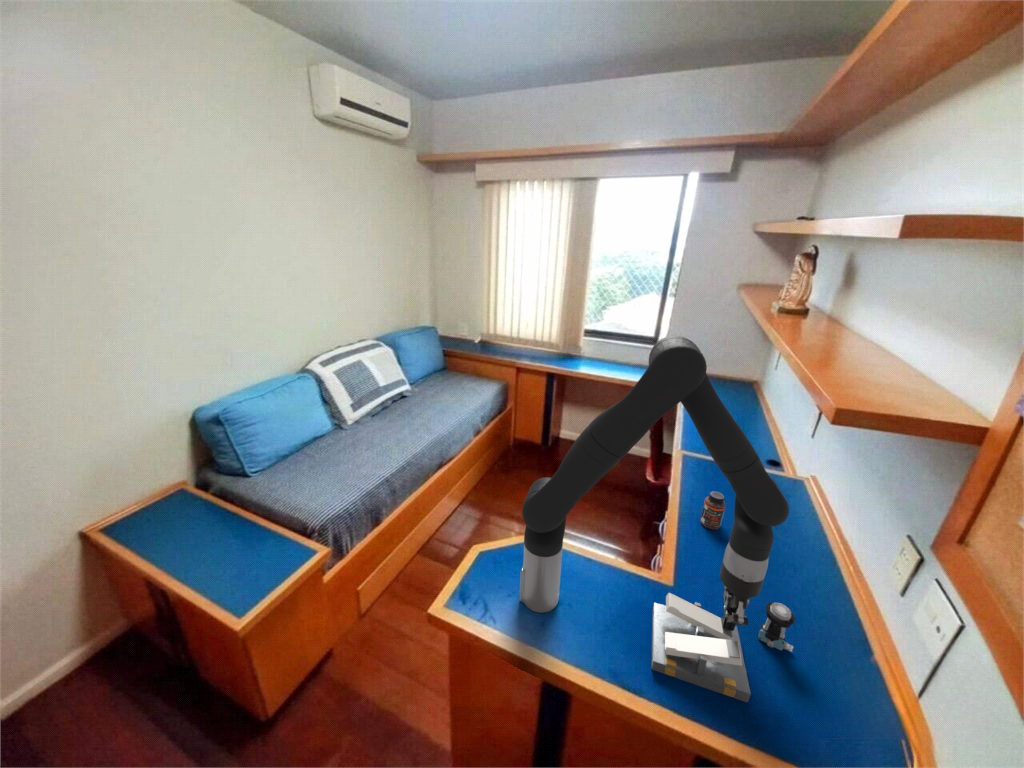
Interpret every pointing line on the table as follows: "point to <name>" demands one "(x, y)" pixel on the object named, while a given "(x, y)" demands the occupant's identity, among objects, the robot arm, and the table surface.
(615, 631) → the table surface
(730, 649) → the rocker front
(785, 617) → the push button
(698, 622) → the rocker back
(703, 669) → the switch unit
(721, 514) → the supplement bottle
